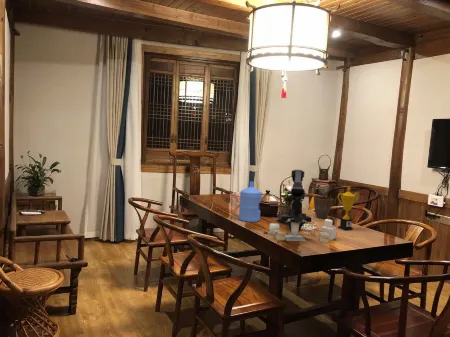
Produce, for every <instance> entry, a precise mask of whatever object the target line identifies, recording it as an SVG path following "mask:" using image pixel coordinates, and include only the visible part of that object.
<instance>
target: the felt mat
mask: <svg viewBox="0 0 450 337" xmlns="http://www.w3.org/2000/svg"><path fill="white" fill-rule="evenodd" d="M285 241H287V242H307V240H306V239H305V238H304V237H303V236H302V235H301V234H300V235H299V234H298V236H293V235H290V234H285Z"/></svg>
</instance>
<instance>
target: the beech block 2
mask: <svg viewBox="0 0 450 337" xmlns="http://www.w3.org/2000/svg"><path fill="white" fill-rule="evenodd" d="M318 235H319V237H318V241H319V243H322V244H323V243H324V244H329V241H330V240H329V234H328V233H323V232H321V231H320V232H319V234H318Z"/></svg>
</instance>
